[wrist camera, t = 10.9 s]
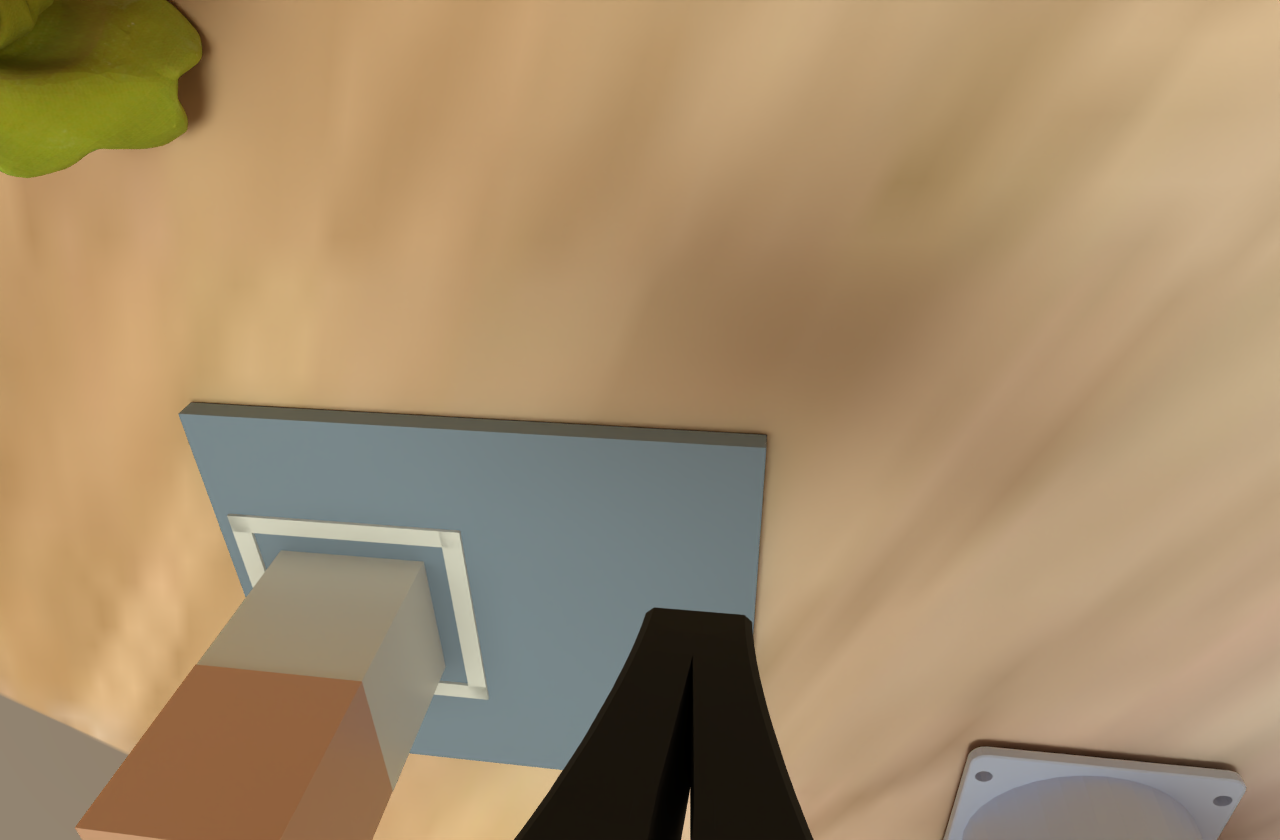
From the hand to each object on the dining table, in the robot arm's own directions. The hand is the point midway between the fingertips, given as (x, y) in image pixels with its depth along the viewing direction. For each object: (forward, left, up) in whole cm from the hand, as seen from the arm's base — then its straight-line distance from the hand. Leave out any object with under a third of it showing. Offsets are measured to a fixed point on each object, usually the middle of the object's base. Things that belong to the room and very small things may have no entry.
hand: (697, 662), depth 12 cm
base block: (-10, +11, -10) cm, 18 cm away
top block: (-10, +11, -5) cm, 16 cm away
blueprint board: (-10, +7, -10) cm, 16 cm away
